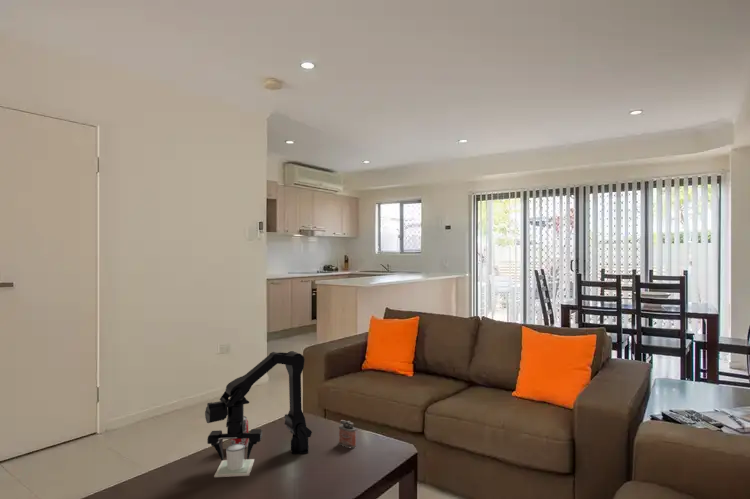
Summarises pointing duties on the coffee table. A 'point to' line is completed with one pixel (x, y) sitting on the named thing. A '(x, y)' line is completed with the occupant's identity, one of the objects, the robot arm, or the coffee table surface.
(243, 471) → the plate
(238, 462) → the white-topped cylinder
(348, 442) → the lighter
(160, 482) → the coffee table surface
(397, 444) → the coffee table surface
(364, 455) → the coffee table surface
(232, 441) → the soda can
